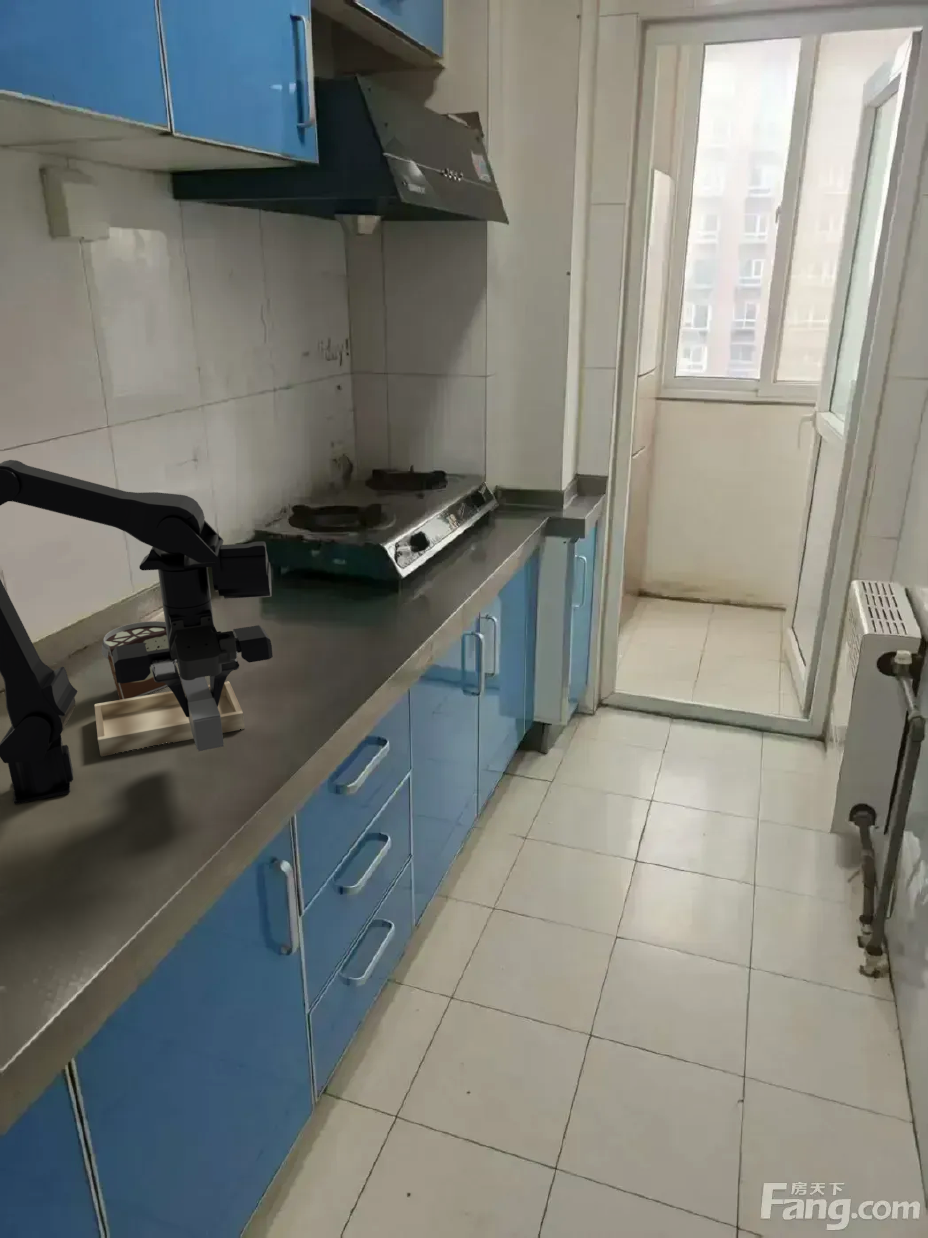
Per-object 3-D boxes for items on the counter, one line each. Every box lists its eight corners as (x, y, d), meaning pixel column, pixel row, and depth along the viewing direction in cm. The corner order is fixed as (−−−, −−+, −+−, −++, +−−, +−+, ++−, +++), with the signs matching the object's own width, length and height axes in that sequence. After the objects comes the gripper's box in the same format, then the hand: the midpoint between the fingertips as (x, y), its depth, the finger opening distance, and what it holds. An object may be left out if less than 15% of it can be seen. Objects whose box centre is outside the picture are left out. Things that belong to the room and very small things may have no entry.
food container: (163, 669, 144) (155, 614, 140) (184, 679, 140) (177, 623, 137) (94, 694, 135) (84, 636, 131) (114, 706, 131) (105, 646, 128)
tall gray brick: (224, 746, 105) (221, 716, 104) (197, 751, 104) (193, 721, 102) (206, 695, 118) (202, 669, 116) (182, 700, 117) (178, 673, 115)
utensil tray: (100, 756, 117) (97, 739, 116) (97, 719, 127) (94, 704, 126) (244, 728, 125) (243, 713, 124) (230, 696, 135) (229, 681, 134)
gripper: (109, 635, 94) (129, 758, 100) (277, 610, 101) (286, 727, 107) (104, 602, 104) (122, 716, 109) (258, 582, 111) (268, 690, 117)
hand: (201, 713), depth 110 cm, fingers closed on tall gray brick, 3 cm apart
